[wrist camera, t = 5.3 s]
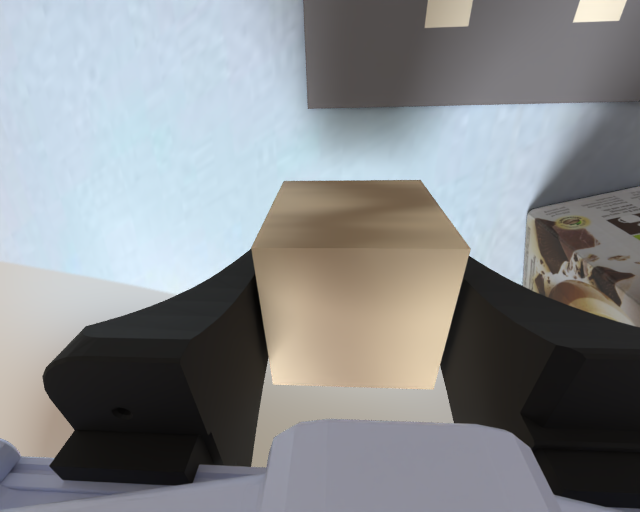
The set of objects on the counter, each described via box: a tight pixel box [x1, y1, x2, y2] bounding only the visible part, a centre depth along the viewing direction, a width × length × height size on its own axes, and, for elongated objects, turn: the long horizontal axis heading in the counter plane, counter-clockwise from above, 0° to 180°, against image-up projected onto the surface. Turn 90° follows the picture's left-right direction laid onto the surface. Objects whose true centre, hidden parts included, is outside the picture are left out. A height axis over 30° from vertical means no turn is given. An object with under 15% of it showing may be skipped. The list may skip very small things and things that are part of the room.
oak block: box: [251, 180, 470, 389], centre depth 11 cm, size 5×5×5 cm
